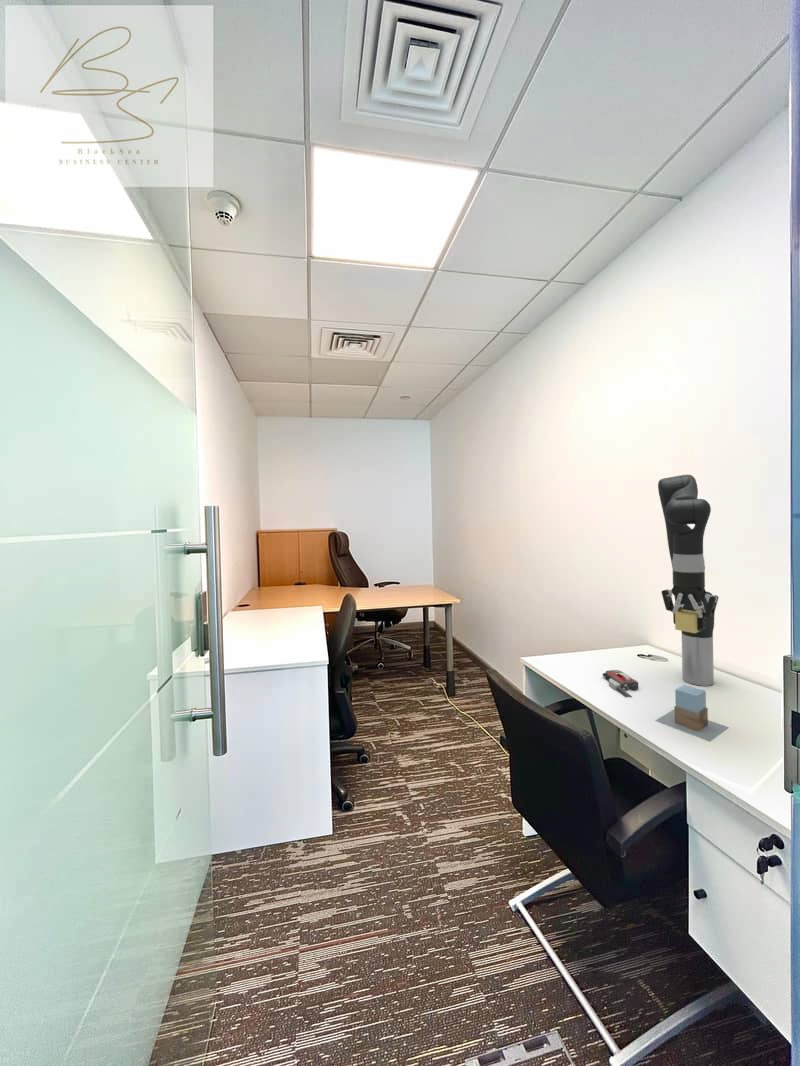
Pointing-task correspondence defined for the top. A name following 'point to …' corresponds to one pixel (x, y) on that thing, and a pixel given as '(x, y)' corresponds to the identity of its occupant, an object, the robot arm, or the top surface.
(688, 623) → the ochre brick
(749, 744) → the top surface
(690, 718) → the walnut brick
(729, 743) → the top surface
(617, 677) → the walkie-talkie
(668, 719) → the slate board
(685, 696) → the blue brick
